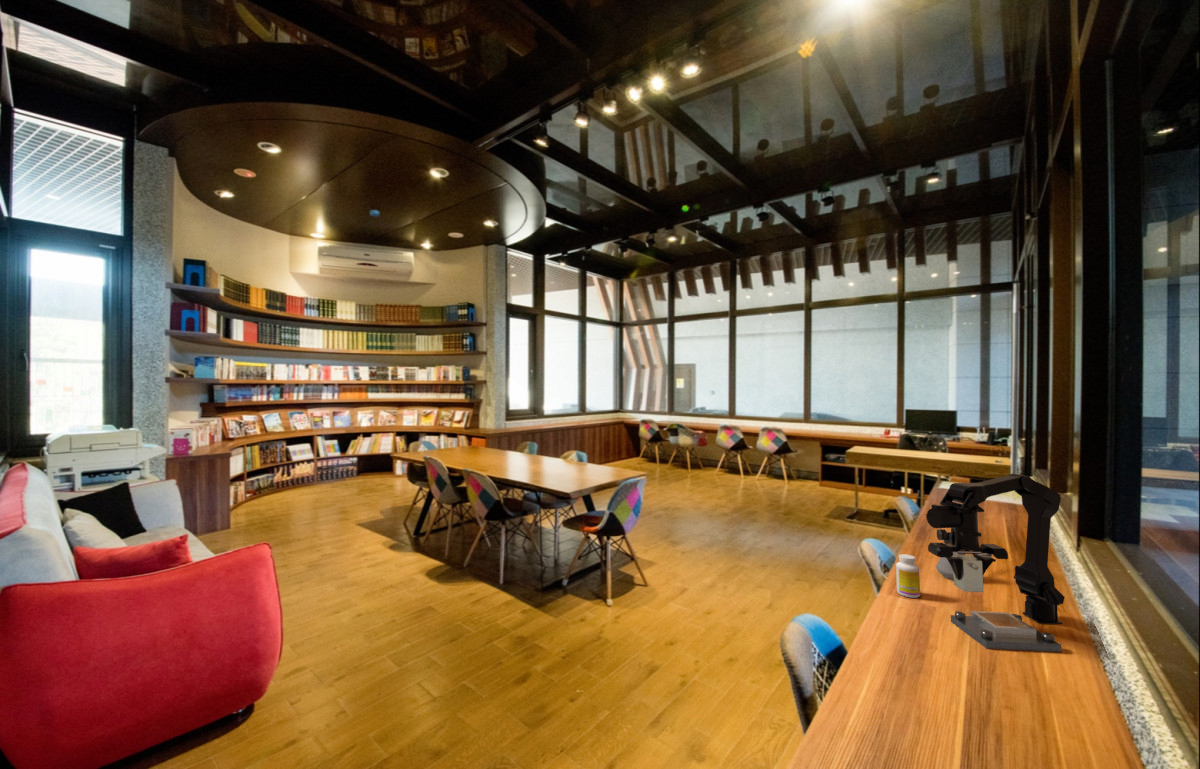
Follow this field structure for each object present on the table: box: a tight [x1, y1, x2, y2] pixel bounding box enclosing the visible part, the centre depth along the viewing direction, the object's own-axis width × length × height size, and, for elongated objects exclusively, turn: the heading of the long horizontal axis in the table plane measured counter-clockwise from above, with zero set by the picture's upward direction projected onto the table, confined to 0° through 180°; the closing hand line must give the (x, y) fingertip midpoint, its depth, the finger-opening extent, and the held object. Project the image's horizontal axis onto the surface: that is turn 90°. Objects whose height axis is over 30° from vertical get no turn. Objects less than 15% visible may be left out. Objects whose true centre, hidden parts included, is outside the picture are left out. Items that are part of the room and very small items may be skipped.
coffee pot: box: [935, 540, 966, 581], centre depth 176 cm, size 21×12×15 cm, turn 137°
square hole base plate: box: [950, 610, 1062, 653], centre depth 129 cm, size 18×15×4 cm
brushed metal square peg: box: [953, 554, 984, 593], centre depth 136 cm, size 5×6×9 cm
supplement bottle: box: [895, 553, 921, 599], centre depth 158 cm, size 7×7×13 cm
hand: (968, 579), depth 137 cm, fingers closed on brushed metal square peg, 5 cm apart
